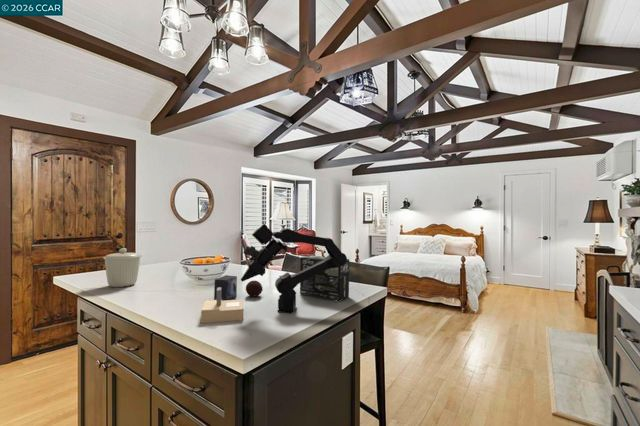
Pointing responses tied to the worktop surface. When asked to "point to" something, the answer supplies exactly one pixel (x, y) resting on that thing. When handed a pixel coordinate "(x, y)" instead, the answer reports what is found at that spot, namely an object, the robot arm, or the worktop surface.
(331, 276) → the box
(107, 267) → the canister
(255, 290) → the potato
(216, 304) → the flap
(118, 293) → the worktop surface
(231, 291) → the small box
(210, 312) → the carton
